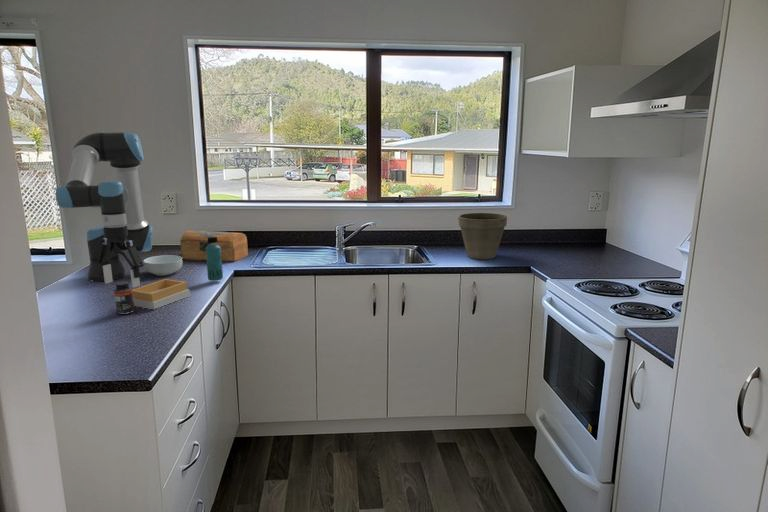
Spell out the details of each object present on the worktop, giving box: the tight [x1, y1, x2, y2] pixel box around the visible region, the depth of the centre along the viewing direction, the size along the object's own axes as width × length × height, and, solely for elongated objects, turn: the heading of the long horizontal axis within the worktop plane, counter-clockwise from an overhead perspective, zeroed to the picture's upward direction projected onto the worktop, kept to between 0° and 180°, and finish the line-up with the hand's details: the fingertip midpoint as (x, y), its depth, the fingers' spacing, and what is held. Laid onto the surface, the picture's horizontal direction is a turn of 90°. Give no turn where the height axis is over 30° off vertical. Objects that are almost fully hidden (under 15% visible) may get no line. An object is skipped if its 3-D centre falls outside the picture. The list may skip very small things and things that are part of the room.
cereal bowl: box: [142, 254, 183, 277], centre depth 239 cm, size 17×17×7 cm
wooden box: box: [179, 230, 249, 263], centre depth 269 cm, size 30×16×14 cm, turn 77°
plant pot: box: [457, 212, 508, 260], centre depth 269 cm, size 25×25×22 cm
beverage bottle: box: [206, 237, 224, 282], centre depth 224 cm, size 6×7×20 cm
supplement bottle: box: [113, 281, 136, 313], centre depth 187 cm, size 6×6×11 cm
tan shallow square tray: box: [132, 278, 191, 309], centre depth 201 cm, size 18×18×6 cm
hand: (122, 284), depth 185 cm, fingers open, 13 cm apart
